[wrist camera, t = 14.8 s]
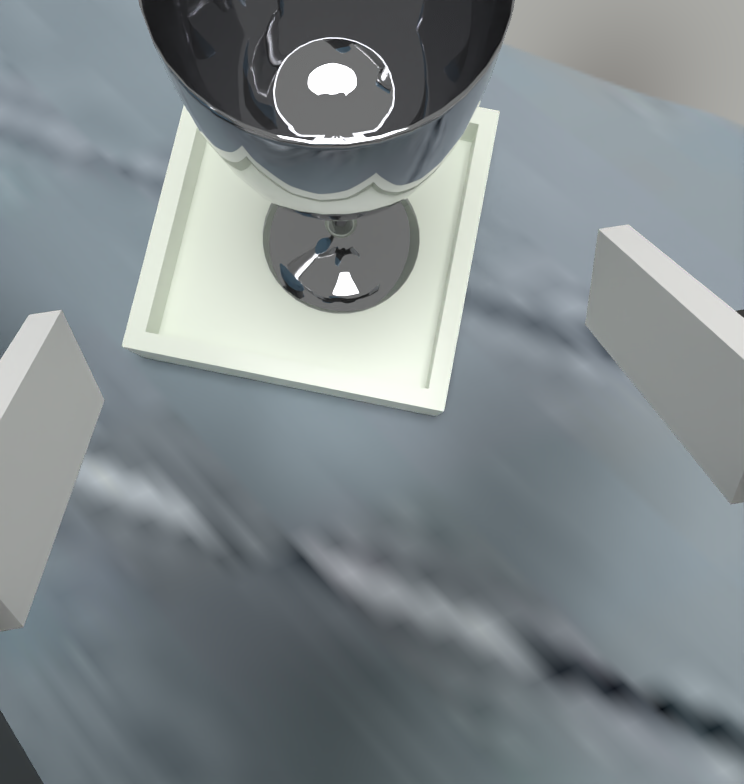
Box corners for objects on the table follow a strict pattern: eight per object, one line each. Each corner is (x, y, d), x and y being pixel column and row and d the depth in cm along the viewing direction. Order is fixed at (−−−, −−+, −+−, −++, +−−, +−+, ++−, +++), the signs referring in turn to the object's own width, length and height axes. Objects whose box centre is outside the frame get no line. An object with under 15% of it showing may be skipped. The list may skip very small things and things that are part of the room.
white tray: (142, 357, 27) (121, 346, 25) (211, 85, 29) (198, 50, 27) (435, 416, 27) (444, 411, 25) (487, 141, 29) (499, 111, 27)
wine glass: (434, 161, 28) (526, -187, 13) (423, 329, 27) (510, 159, 12) (261, 147, 28) (156, -224, 13) (244, 315, 27) (109, 125, 12)
